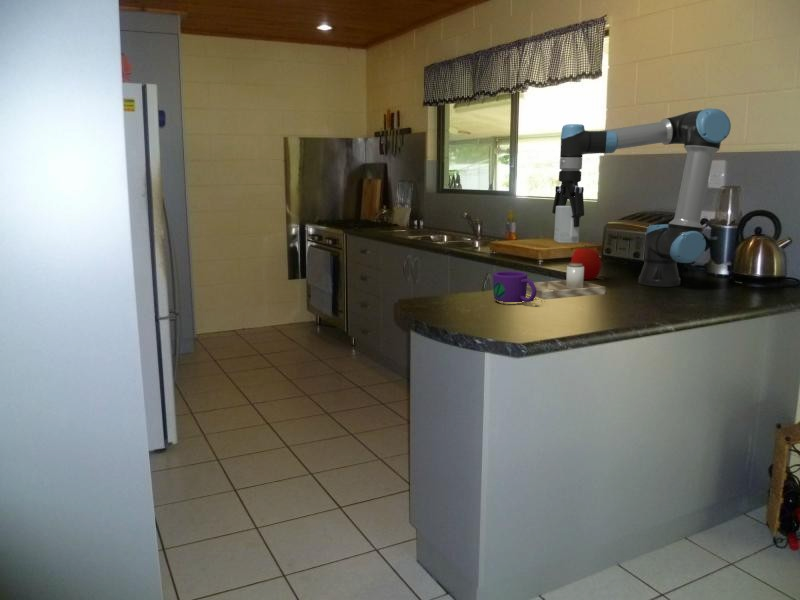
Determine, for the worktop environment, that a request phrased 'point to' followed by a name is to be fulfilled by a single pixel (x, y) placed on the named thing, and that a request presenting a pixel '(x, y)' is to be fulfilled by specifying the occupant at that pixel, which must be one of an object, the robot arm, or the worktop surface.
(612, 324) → the worktop surface
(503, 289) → the mug
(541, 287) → the rack
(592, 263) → the tomato
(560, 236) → the supplement box
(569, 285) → the ceramic jar
